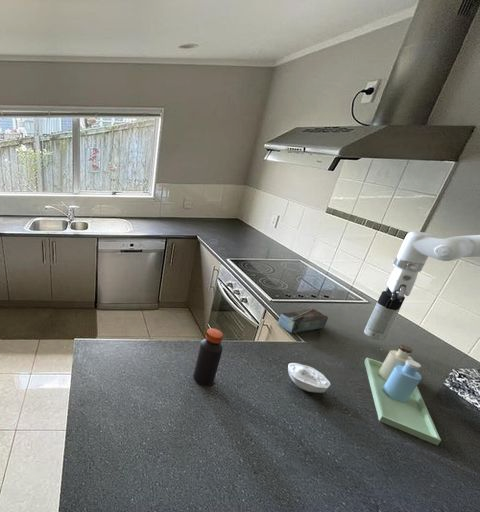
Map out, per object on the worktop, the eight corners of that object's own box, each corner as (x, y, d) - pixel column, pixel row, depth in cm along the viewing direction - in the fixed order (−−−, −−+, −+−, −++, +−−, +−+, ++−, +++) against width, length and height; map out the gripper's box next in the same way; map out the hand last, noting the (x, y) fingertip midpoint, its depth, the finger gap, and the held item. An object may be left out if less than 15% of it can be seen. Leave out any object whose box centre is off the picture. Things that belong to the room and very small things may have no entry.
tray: (407, 377, 102) (410, 372, 101) (436, 446, 78) (441, 440, 77) (363, 362, 108) (366, 357, 107) (378, 422, 85) (381, 416, 84)
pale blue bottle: (404, 393, 95) (424, 362, 89) (409, 405, 90) (430, 373, 85) (380, 384, 98) (398, 353, 92) (384, 395, 93) (403, 364, 88)
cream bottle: (398, 376, 101) (416, 346, 96) (402, 387, 97) (421, 356, 92) (376, 368, 105) (392, 339, 99) (379, 378, 100) (396, 348, 95)
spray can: (389, 341, 115) (411, 298, 107) (372, 340, 115) (393, 298, 107) (374, 331, 121) (394, 290, 113) (358, 330, 121) (377, 289, 113)
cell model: (323, 405, 90) (331, 390, 87) (280, 384, 97) (286, 369, 94) (326, 386, 97) (334, 372, 94) (286, 368, 104) (292, 354, 101)
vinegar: (196, 368, 102) (206, 323, 94) (215, 377, 98) (228, 331, 91) (190, 380, 97) (201, 334, 89) (210, 390, 93) (223, 342, 86)
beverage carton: (276, 323, 130) (280, 311, 128) (309, 318, 135) (313, 307, 132) (290, 333, 123) (295, 321, 121) (324, 328, 127) (330, 316, 125)
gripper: (430, 274, 97) (407, 318, 104) (415, 260, 110) (396, 299, 117) (400, 269, 101) (380, 311, 108) (389, 255, 114) (372, 293, 121)
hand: (388, 304), depth 112 cm, fingers closed on spray can, 6 cm apart
